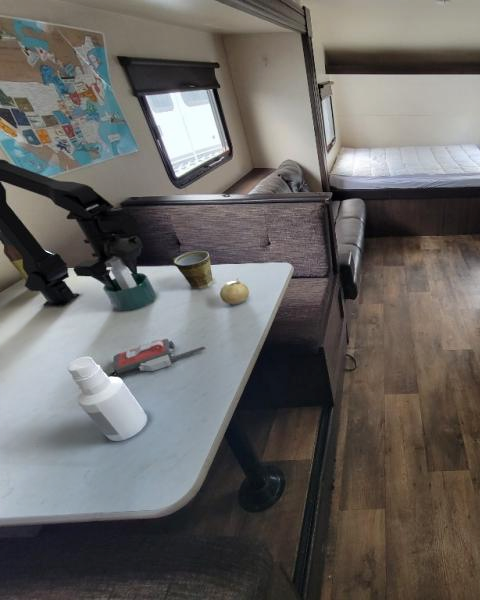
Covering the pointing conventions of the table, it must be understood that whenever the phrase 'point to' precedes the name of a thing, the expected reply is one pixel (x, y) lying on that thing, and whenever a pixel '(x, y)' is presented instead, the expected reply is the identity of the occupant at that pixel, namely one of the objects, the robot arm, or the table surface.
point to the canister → (132, 294)
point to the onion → (234, 292)
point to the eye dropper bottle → (122, 274)
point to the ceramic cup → (195, 268)
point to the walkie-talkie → (147, 358)
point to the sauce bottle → (13, 255)
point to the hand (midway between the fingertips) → (125, 281)
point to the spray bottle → (107, 400)
